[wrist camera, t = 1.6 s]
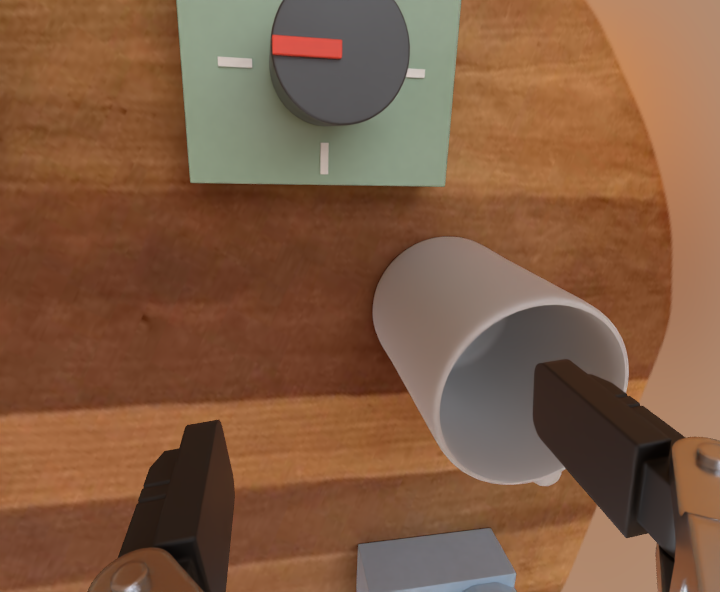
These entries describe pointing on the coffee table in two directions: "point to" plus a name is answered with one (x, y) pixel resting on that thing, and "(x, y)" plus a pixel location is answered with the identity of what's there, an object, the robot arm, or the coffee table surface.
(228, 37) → the panel
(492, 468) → the mug
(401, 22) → the dial
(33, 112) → the coffee table surface
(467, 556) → the button box
